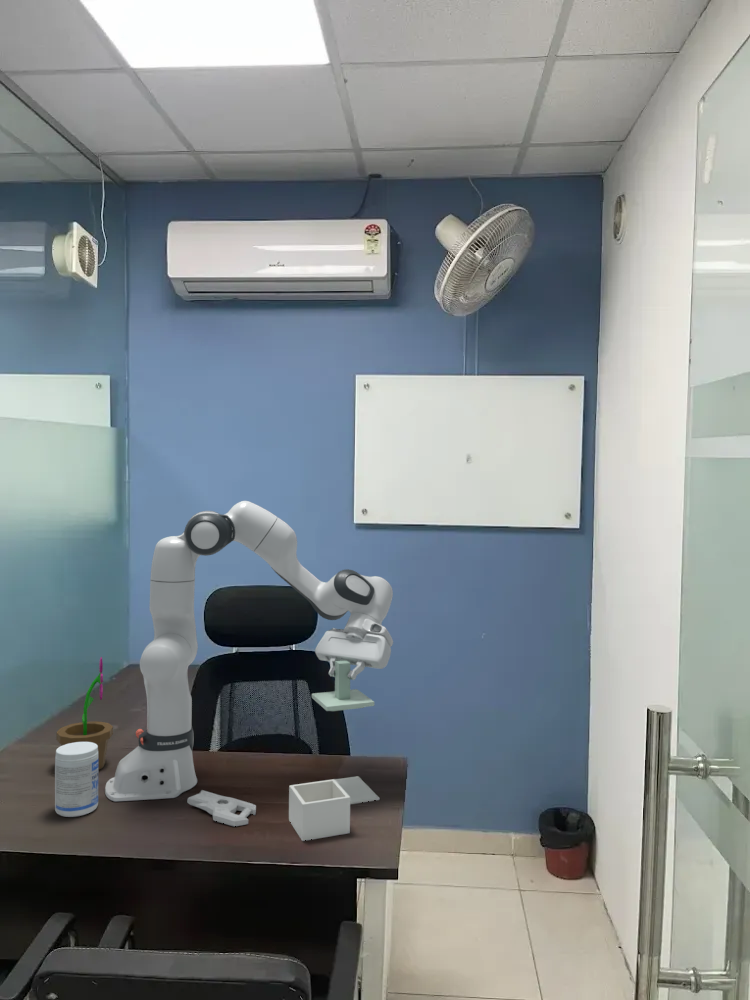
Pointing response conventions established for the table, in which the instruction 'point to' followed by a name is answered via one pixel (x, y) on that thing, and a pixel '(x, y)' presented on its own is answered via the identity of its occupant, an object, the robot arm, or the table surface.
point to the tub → (319, 809)
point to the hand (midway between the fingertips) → (341, 676)
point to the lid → (342, 692)
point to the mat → (357, 790)
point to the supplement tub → (76, 779)
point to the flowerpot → (89, 726)
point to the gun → (223, 808)
